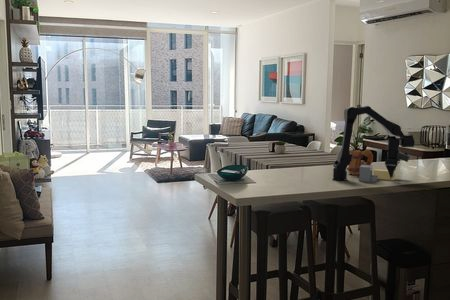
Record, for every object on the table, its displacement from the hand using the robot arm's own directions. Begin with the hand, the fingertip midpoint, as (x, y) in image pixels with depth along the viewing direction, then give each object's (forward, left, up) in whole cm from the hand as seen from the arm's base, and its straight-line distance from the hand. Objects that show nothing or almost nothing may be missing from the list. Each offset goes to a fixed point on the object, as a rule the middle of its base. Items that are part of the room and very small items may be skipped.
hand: (392, 175), depth 241 cm
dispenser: (-11, -8, -2) cm, 14 cm away
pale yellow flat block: (-4, 0, -2) cm, 5 cm away
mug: (-19, +9, -2) cm, 21 cm away
